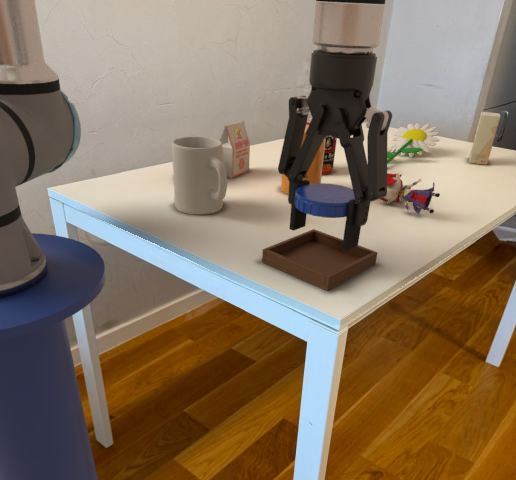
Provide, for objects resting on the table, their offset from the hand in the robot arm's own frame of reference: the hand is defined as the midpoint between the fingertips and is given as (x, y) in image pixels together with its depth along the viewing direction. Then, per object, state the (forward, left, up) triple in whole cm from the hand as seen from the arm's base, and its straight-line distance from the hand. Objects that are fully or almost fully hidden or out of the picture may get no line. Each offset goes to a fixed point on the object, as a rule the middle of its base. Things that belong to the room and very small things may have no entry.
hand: (322, 236), depth 70 cm
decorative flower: (-24, +63, -4) cm, 68 cm away
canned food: (-31, +38, -4) cm, 49 cm away
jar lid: (0, 0, +6) cm, 6 cm away
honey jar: (-24, +24, -4) cm, 34 cm away
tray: (0, 0, -4) cm, 4 cm away
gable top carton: (-41, +22, -4) cm, 47 cm away
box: (-10, +77, -4) cm, 78 cm away
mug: (-28, +2, -4) cm, 28 cm away
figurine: (-5, +31, -4) cm, 32 cm away
